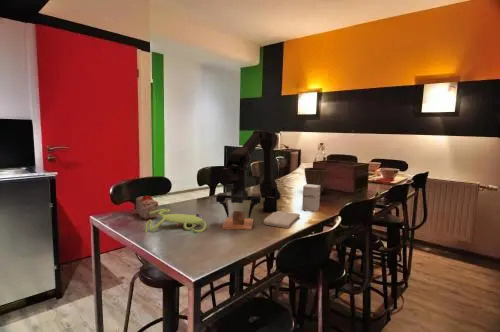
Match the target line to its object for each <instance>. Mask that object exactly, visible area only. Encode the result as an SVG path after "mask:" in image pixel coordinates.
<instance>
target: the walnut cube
mask: <svg viewBox="0 0 500 332" xmlns="http://www.w3.org/2000/svg"><path fill="white" fill-rule="evenodd" d="M232 218H233V224H236V225H244V219H245V211H244V210H234V211H233V212H232Z"/></svg>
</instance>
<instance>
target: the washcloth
mask: <svg viewBox="0 0 500 332" xmlns="http://www.w3.org/2000/svg"><path fill="white" fill-rule="evenodd" d="M300 216H301V214H299V213H295V212H294V213H293V212H289V211H284V210H283V211H282V210H277V212H272V213H271V214H269V215H268V216H267V217H266V218H264V220H263V225H265V226H269V225H270V226H269V227H275V226H277V227H278V228H280V227H282V229H286V228H289V229H290V228H291V227H292V226H293V225H295V223H296V222H297V221H298V220H300ZM277 227H276V228H277Z"/></svg>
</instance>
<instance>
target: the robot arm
mask: <svg viewBox="0 0 500 332" xmlns="http://www.w3.org/2000/svg"><path fill="white" fill-rule="evenodd" d="M277 143H278V135H277V134H276V133H275V132H273V131H272V132H271V131H265V130H259V129H256V130H253V132H252V134H251V135H250V137H249V138H248V139H247V140H246V142H245V143H244V144H243V145H242V146H241V147H239V148H237V149H235V150H233V151H232V152H231V153H230V154H229V158H228V160H227V163H226V164H225V167H224V168H222V170H221V172H220V173H219V174H218V176H217V177H218V178H217V179H218V182H219V184H220V185H222V186H229V185H231V192H230V194H229V195H228V192H219V193H218V194H216V196H215V201H216V203H218V204H220V205H222V207H223V208H224V211H225V214H226V217H227V218H230V217H229V216H230V209H229V201H230V202H231V203H232V204H235V203H236V204H243V203H244V201H250V204H249V209H248V210H249V211H248V219H251V218H250V217H251V215H252V212H253V209H254V207H255V206H257V205H258V204H260V203H261V199H263V205H262V207H263V209H262V210H263V211H264V212H272V213H273V212H277V211H278V206H277V205H278V201H279V200H280V199H281V196H282V195H281V192H280V191H279V189H278V183H277V182H276V180H275V178H274V174H275V173H274V171H275V170H274V167H275V166H274V164H275V163H274V150H275V149H276V147H277ZM258 146H260V147H261V149H262V153H263V156H262V157H263V179H262V182H260V183H259V193H251V195H249V191H248V190H246V182H247V181H246V179H247V178H246V175H247V174H246V173H247V171H249V168H248V167H247V165H248V164H249V163H250V160H251V154H252V153H253V151H255V149H256V148H257V147H258Z"/></svg>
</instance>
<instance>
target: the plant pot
mask: <svg viewBox="0 0 500 332" xmlns="http://www.w3.org/2000/svg"><path fill="white" fill-rule="evenodd" d="M328 173H329V169H328V168H325V167H305V168H304V176H305V183H306V184H312V185H320V195H322V192H323V191H324V187H325V186H326V183H327V178H328Z"/></svg>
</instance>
